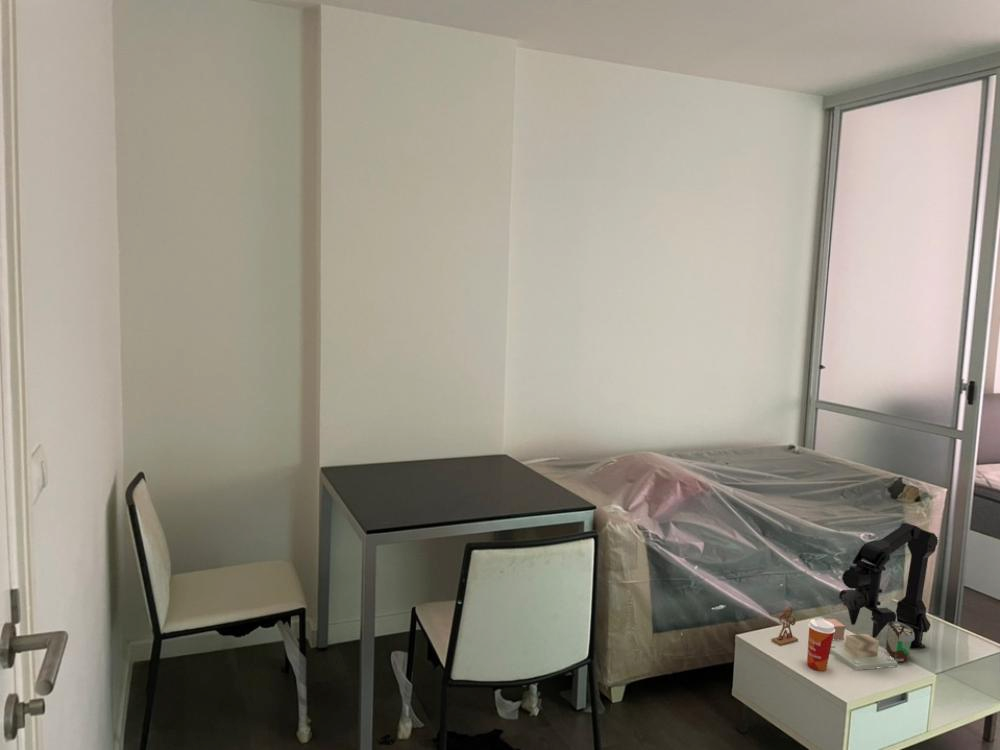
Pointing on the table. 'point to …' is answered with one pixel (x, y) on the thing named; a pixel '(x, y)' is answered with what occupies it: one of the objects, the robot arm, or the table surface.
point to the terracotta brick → (837, 629)
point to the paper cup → (819, 644)
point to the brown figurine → (788, 637)
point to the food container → (899, 641)
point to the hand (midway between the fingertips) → (863, 630)
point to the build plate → (861, 659)
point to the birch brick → (861, 645)
